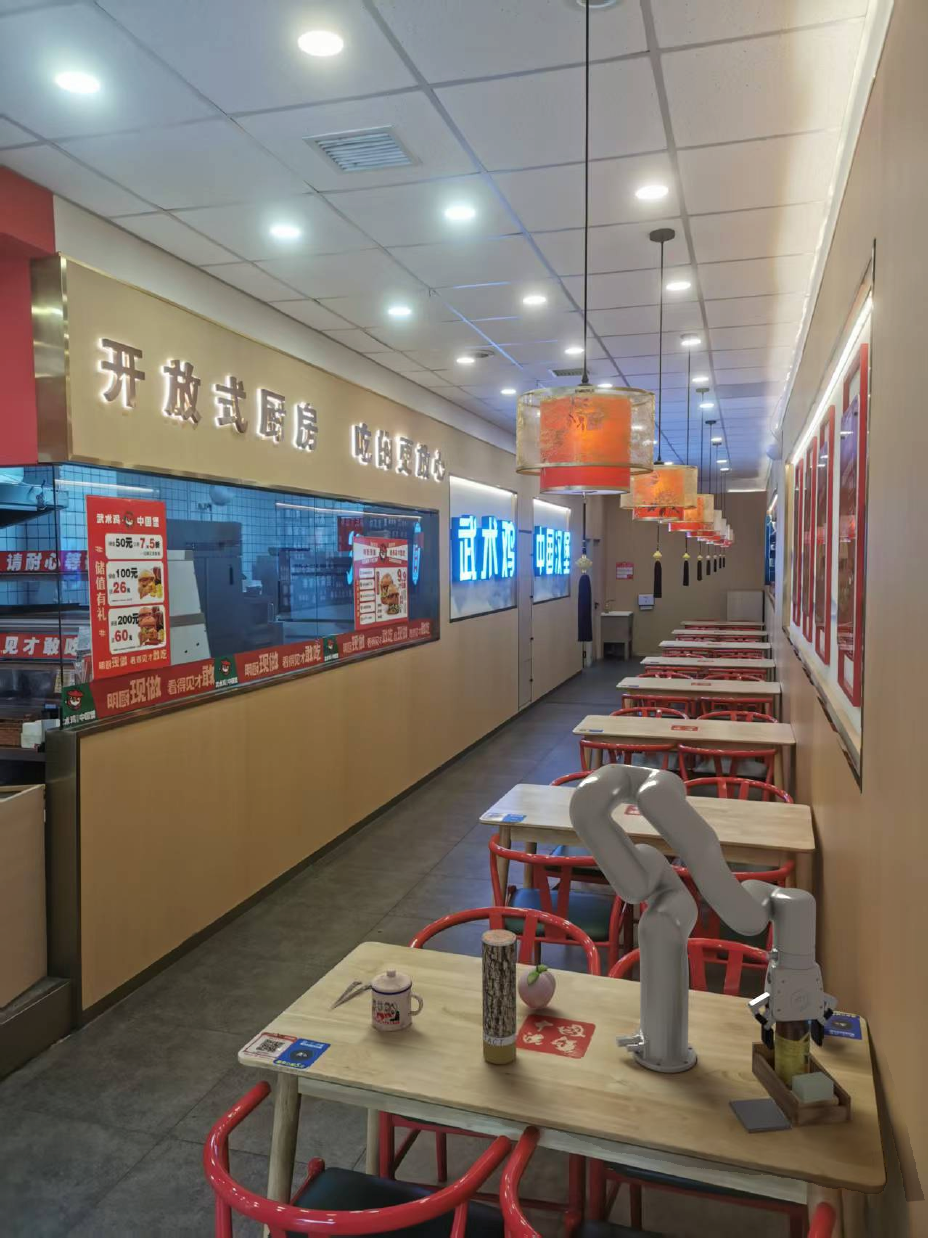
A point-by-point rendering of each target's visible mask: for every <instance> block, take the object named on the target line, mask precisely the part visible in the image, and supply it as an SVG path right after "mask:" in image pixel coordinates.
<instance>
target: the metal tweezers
mask: <svg viewBox="0 0 928 1238" xmlns="http://www.w3.org/2000/svg"><path fill="white" fill-rule="evenodd" d="M362 983H363V980H354V981H353V982H352V983H351V984H350V985H349V986H347V988H346V989H345V990H344V991H343V993H342V994H341V995H340V996H339V997H338V998H337V999H336V1001H335V1002H334V1003H333V1004H332V1005H331V1006H330V1008H329V1009H330V1010H328V1012H330V1011H331V1010H333V1009H335V1008H336V1007H338V1006H339V1005H341V1004H342V1003H344V1002H346V1001H348V1000H349V999H351V998H353V997H355V996H356V995H358V994H360V993H361V992H364V991H366V990H367V989H369V988H370V989H371V987H370V984H371V982H368V984H365V985H363V986H360V987H359V988H357V989H356V990H355V991H353V992H352V993H350V992H351V991H352V990H353V989H354V988H355V987H356V986H357V985H358V984H362ZM349 993H350V994H349ZM346 995H347V996H346ZM345 996H346V997H345ZM341 999H342V1000H341Z"/></svg>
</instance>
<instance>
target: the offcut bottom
mask: <svg viewBox="0 0 928 1238" xmlns="http://www.w3.org/2000/svg"><path fill="white" fill-rule="evenodd" d="M790 1092H791V1093H792V1094H793V1095H794V1096H795V1098H796V1099H797V1100H798V1101H799V1104H798V1109H810V1108H822V1107H834V1106H839V1099H838V1098H837V1097H836V1095H835V1094H834V1093H833V1099H827V1100H821V1101H816V1102H810V1103H803V1102H802V1101H801V1100H800V1099H799V1098H798V1097H797V1096H796V1095H795V1094H794V1093H793V1092H792V1090H791V1091H790Z"/></svg>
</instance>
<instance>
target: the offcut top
mask: <svg viewBox="0 0 928 1238" xmlns="http://www.w3.org/2000/svg"><path fill="white" fill-rule="evenodd" d="M833 1089H834V1082H833V1081H832V1080H830V1079H829V1078H828V1077H827V1076H826V1075H825V1074H824V1073H823V1072H815V1073H809V1074H803V1075H797V1076H792V1092H793V1093H794V1094H795V1095H796V1096H797V1097H798V1098H799V1099H800V1100H801V1101H802V1102H803V1103H810V1102H816V1101H821V1100H827V1099H833Z"/></svg>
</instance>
